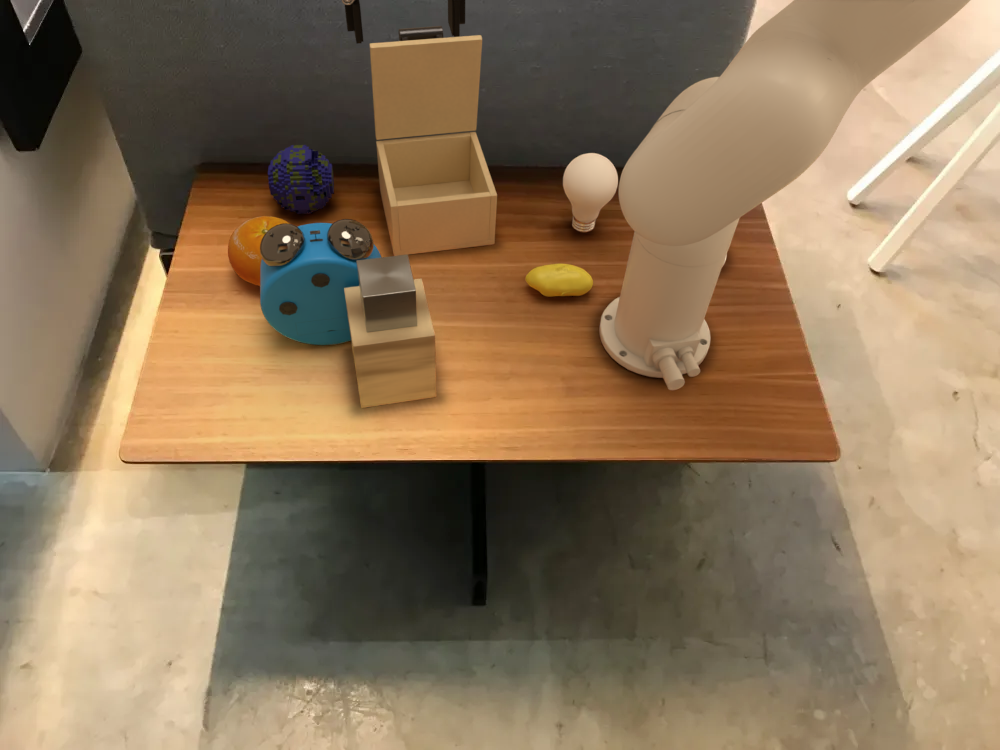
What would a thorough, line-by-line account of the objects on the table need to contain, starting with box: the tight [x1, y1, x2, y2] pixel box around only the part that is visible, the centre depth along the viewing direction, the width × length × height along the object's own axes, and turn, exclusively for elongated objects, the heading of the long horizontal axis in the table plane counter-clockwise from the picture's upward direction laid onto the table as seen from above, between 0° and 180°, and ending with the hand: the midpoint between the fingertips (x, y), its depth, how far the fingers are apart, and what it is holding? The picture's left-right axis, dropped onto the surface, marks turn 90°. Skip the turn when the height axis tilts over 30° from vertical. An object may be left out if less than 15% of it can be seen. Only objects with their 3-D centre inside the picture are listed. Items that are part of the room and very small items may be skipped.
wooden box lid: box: [369, 25, 483, 141], centre depth 102 cm, size 13×13×5 cm
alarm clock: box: [259, 218, 383, 346], centre depth 91 cm, size 13×6×15 cm, turn 100°
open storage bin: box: [375, 131, 498, 256], centre depth 106 cm, size 13×13×8 cm
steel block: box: [356, 254, 417, 333], centre depth 83 cm, size 5×5×5 cm
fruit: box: [227, 215, 291, 287], centre depth 99 cm, size 8×8×8 cm
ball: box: [267, 144, 335, 215], centre depth 107 cm, size 8×8×8 cm
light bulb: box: [562, 152, 619, 233], centre depth 105 cm, size 7×7×11 cm
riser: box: [344, 277, 437, 409], centre depth 89 cm, size 8×8×10 cm
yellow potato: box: [524, 262, 594, 298], centre depth 100 cm, size 4×8×4 cm, turn 85°
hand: (406, 33), depth 86 cm, fingers open, 9 cm apart
